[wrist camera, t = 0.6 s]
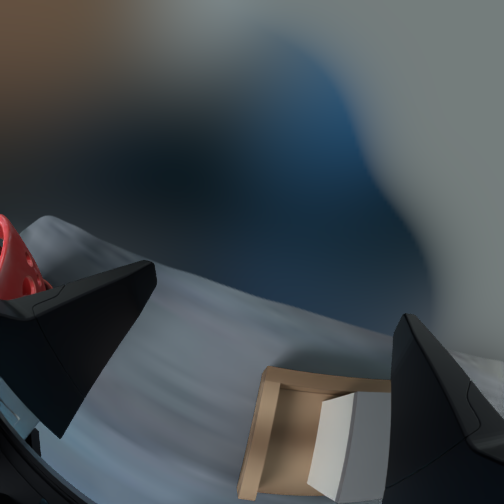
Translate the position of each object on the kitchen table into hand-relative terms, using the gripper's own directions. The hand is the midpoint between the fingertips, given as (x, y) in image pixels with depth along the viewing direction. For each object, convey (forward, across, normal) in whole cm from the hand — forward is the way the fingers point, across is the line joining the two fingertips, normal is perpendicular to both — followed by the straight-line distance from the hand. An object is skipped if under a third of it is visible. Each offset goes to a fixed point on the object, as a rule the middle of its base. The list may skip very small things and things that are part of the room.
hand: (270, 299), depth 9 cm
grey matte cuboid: (+3, -8, +17) cm, 19 cm away
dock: (+3, -7, +18) cm, 20 cm away
